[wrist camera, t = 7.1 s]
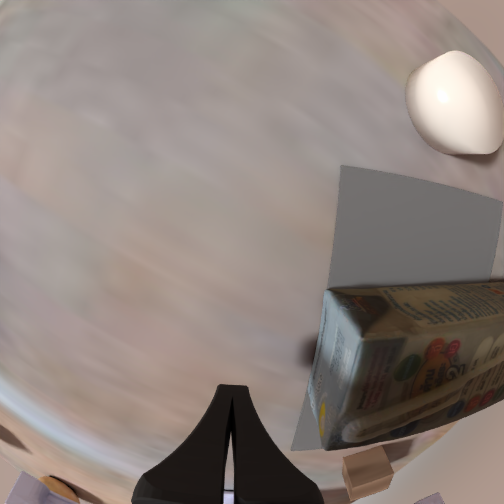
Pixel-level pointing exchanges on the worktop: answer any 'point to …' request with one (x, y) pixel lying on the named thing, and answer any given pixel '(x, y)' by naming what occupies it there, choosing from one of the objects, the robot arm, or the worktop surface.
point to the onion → (59, 488)
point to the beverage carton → (405, 360)
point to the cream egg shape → (456, 105)
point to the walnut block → (367, 472)
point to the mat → (404, 243)
